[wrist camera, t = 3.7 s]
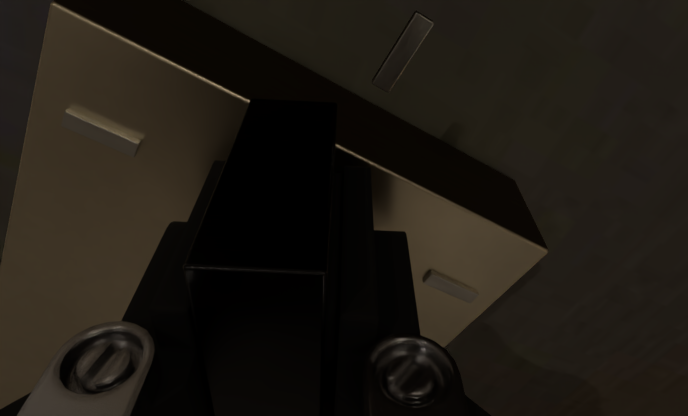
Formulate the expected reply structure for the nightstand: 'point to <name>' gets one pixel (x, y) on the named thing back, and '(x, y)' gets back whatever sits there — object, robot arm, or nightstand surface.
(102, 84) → the panel
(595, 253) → the nightstand surface
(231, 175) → the black boxy piece
